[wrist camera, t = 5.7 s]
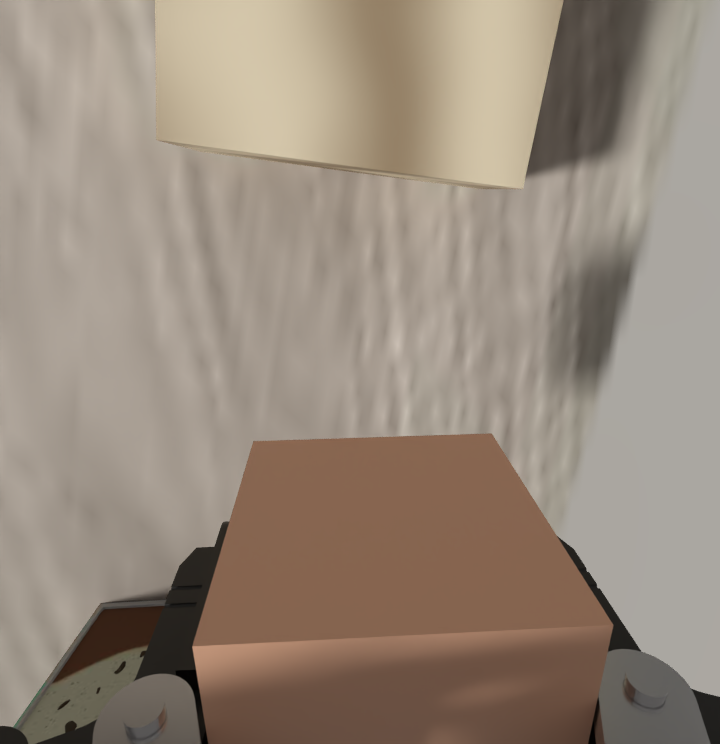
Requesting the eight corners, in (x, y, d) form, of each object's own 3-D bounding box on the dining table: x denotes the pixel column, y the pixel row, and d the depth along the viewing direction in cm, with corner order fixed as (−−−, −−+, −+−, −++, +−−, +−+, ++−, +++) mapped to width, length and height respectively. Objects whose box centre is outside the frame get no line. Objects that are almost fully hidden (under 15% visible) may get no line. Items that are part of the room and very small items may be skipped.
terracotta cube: (270, 626, 12) (233, 896, 8) (253, 441, 11) (192, 646, 6) (475, 615, 13) (560, 872, 8) (491, 433, 11) (613, 625, 6)
